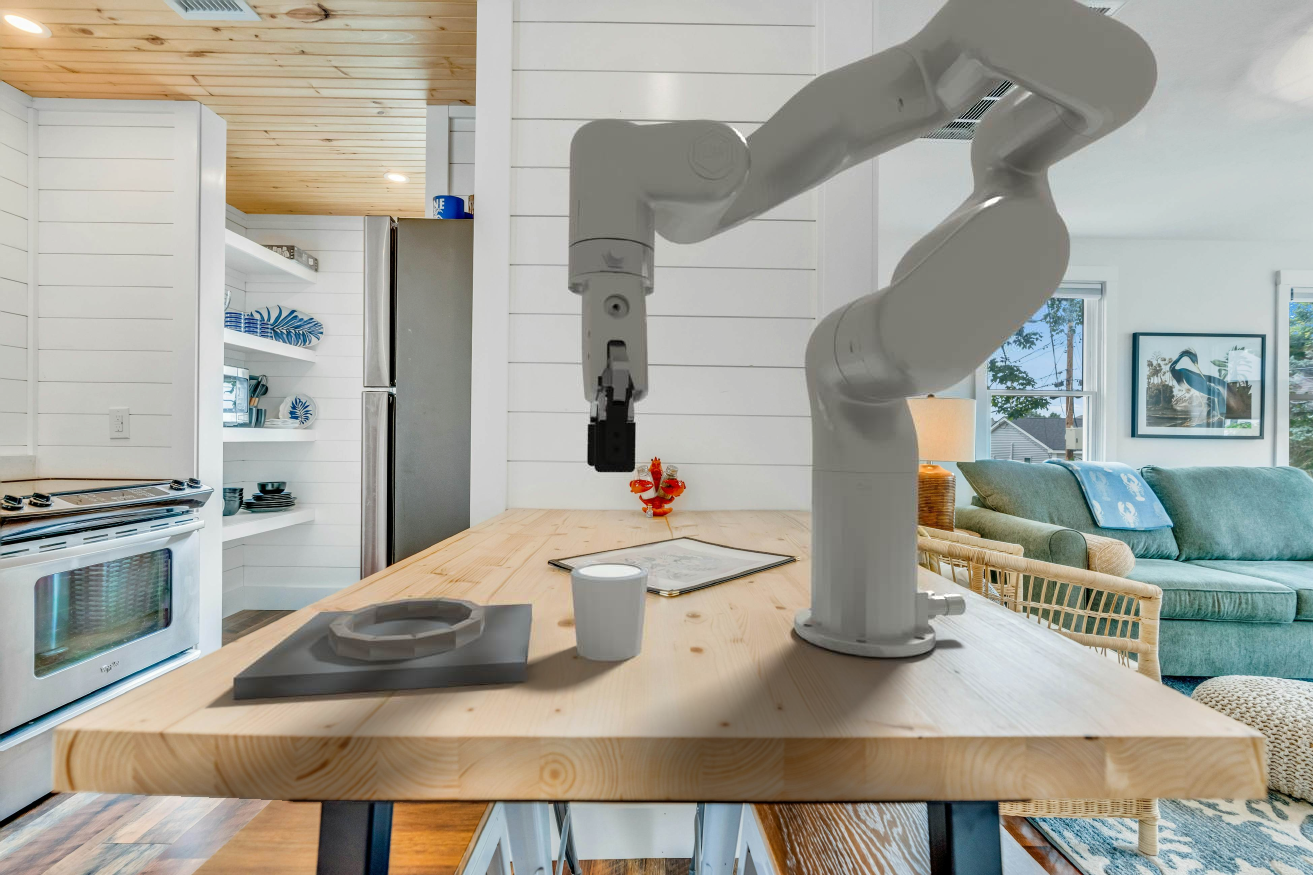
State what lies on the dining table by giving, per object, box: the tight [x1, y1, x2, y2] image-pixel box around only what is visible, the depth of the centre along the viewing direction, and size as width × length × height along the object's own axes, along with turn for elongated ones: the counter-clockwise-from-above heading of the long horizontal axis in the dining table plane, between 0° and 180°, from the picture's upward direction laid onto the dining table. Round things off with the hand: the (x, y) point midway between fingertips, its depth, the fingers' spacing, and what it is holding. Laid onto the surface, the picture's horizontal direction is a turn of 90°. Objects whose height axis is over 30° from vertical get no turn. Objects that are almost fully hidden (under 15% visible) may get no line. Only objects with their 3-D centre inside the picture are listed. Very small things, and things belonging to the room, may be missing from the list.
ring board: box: [232, 596, 533, 700], centre depth 52 cm, size 20×16×3 cm
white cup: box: [570, 562, 650, 662], centre depth 52 cm, size 7×7×7 cm
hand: (608, 468), depth 52 cm, fingers open, 9 cm apart
